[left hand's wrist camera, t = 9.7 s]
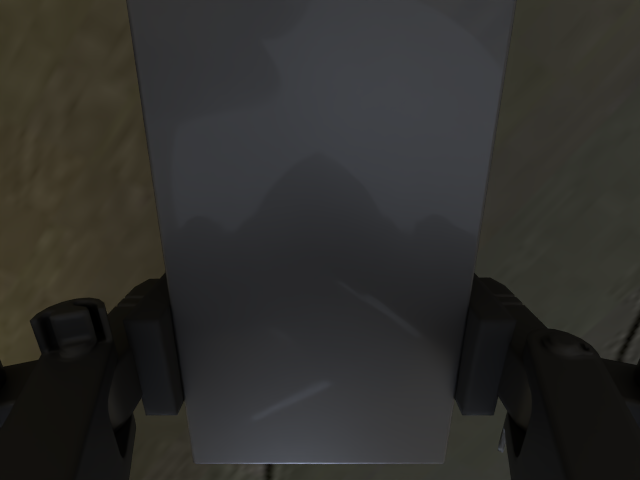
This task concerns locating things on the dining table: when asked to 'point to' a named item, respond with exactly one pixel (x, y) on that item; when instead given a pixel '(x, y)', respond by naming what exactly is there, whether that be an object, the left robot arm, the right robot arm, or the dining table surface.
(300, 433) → the cabinet
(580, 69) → the dining table surface
